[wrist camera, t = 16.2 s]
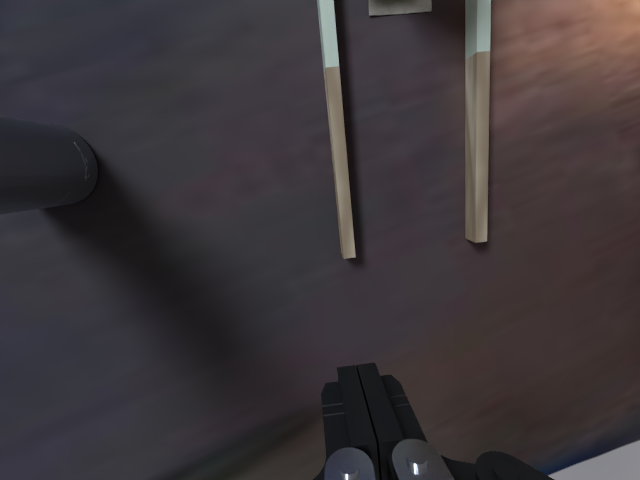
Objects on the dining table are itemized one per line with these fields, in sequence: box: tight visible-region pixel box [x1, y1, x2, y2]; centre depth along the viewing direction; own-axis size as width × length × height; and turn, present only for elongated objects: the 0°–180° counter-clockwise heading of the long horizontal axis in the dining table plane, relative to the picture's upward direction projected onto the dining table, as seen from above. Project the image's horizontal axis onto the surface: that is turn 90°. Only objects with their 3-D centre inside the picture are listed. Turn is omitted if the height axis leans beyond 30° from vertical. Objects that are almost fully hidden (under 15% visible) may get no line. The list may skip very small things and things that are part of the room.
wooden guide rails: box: [324, 51, 490, 259], centre depth 38 cm, size 18×22×2 cm
